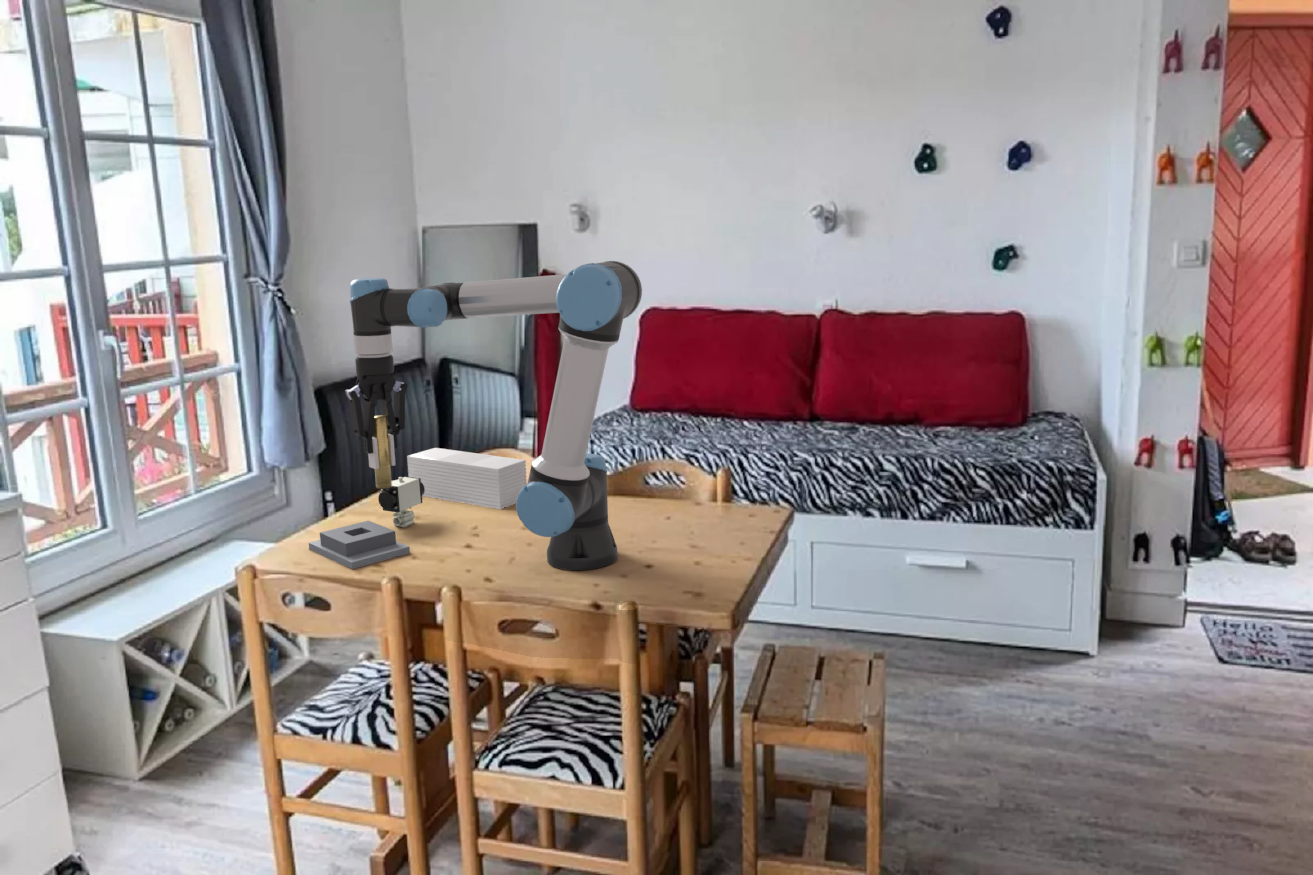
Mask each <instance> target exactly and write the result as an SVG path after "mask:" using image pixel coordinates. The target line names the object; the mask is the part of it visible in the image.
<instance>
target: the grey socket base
mask: <svg viewBox="0 0 1313 875" xmlns="http://www.w3.org/2000/svg"><path fill="white" fill-rule="evenodd" d="M308 549H309V550H310V549H311V550H310V551H313V552H314V553H317V554H319V555H321V556H323V557H325V558H328V559H329V560H332V561H334V562H337V563H338V564H340V565H343V566H344V565H345V567H346V568H349V569H351V570H353V569H357V568H361V567H364V566H368V565H372V564H375V563H376V564H377V563H379V561H380V562H382V561H386V560H389V559H393V558H396V556H398V557H400V556H404V555H407V554H410V553H411V548H410V546H409V545H406V544H404V543H402V542H400V541H397V538H396V531H395V530H393V529H391V528H388V527H386V526H383V525H380V524H378V523H375V522H373V521H371V520H365V521H361V522H357V523H353V524H349V525H345V526H340V527H337V528H333V529H329V530H325V531H320V532H319V540H314V541H310V542H308Z"/></svg>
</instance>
